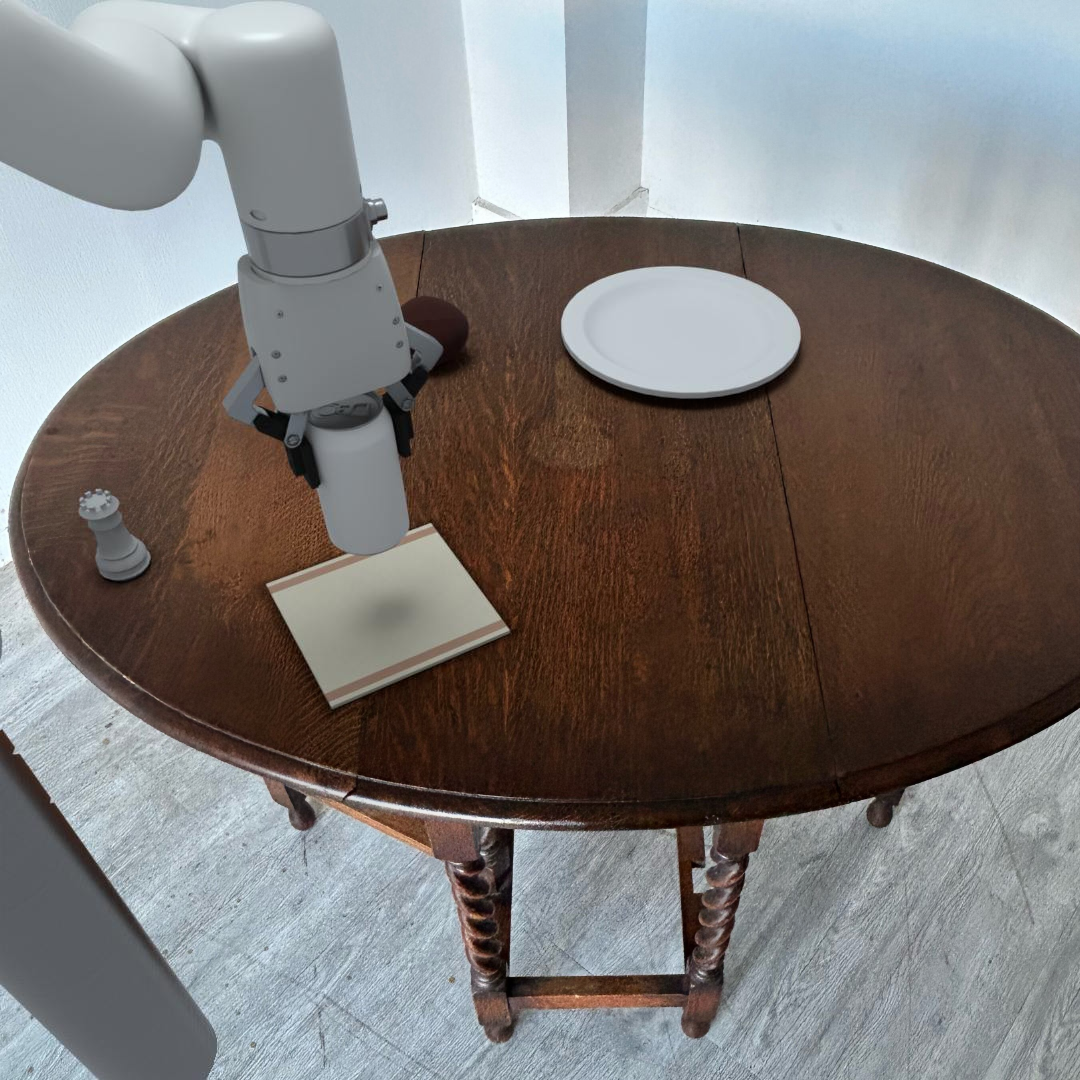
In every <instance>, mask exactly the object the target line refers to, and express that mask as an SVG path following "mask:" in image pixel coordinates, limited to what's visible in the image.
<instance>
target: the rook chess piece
mask: <svg viewBox="0 0 1080 1080" xmlns="http://www.w3.org/2000/svg"><path fill="white" fill-rule="evenodd" d="M84 496H85V497H84ZM84 496H80V498H79V500H78V503H79V508H78V510H77V511H78V515H79V516H80V517H82V519H85V520H86V521H87V527H88V528H89V529H90V530H92V531H93V533H94V536H95V540H96V542H97V547H96V553H95V556H94V559H95V563H96V567H97V568H98V572H99V574H100V575H101V576H102V577H103V578H105V579H108V580H111V581H115V582H126V581H128V580H133V579H135V578H137V577H138V576H140V575H142V574H144V573H143V572H145V570H146V569H148V567H149V564H150V561H151V558H152V557H151V554H150V552H149V551H148V550H147V547H146V544H144V542H143V541H141V540H140V539H139V538H137V537H136V536H135V535H134V534H131V533H130V532H129V529H127V527H126V526H125V524H124V523H123V515H122V513H121V512H120V511H119V510H118V509H119V506H120V501H119V498H117V497H116V496H114V495H112V494H111V492H110V491H109V490H108V489H106V490H103V489H102V488H95V493H93V494H92V492H91V491H90V490H88V491H87V492H85V493H84Z"/></svg>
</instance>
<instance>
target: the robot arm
mask: <svg viewBox="0 0 1080 1080" xmlns="http://www.w3.org/2000/svg"><path fill="white" fill-rule="evenodd" d="M343 73H344V72H343V66H342V59H341V54H340V49H339V45H338V41H337V37H336V34H335V32H334V29H333V28H332V25H331V24H330V23H329V21H328V20H327V19H326V18H325V16H324V15H322V14H321V13H320V12H318V11H317V10H315V9H314V8H312V7H309V6H306V5H304V4H303V5H302V4H299V3H295V2H290V1H281V0H261V1H260V0H259V1H248V2H242V3H237V4H233V5H229V6H226V7H223V8H215V7H200V6H192V5H191V6H190V5H183V4H182V5H181V4H173V3H168V2H167V3H166V2H159V1H151V0H104V1H101V2H97V3H94V4H92V5H90V6H88V7H87V8H85V9H83V10H82V11H80V12H79V13H78V14H77V15H76V16H75V17H74V18H73V19H72V21H71V22H70V24H69V25H68V28H66V27H64V26H62V25H60V24H58V23H57V22H55V21H53V20H52V19H50V18H48V17H47V16H45V15H43V14H41V13H40V12H38V11H37V10H35V9H33V7H31V6H29V5H28V4H26V3H24V2H22V1H21V0H0V162H1V163H2V164H5V165H7V166H8V167H11V168H12V169H14V170H17V171H19V172H20V173H22V174H24V175H27V176H28V177H31V178H33V179H35V180H36V181H39V182H41V183H43V184H45V185H47V186H49V187H51V188H53V189H55V190H58V191H60V192H62V193H64V194H67V195H68V196H71V197H74V198H76V199H79V200H81V201H84V202H86V203H89V204H94V205H97V206H101V207H103V208H107V209H111V210H119V211H125V212H126V211H128V212H141V211H142V212H143V211H150V210H154V209H158V208H162V207H163V206H165V205H167V204H169V203H171V202H173V201H174V200H176V199H177V198H179V197H180V195H181V194H183V193H184V192H185V191H186V190H187V189H188V187H189V186H190V184H191V182H192V181H193V180H194V178H195V176H196V173H197V172H198V168H199V165H200V161H201V155H202V149H203V143H204V142H203V141H212V142H214V143H216V144H217V145H218V147H219V148H220V151H221V154H222V159H223V163H224V165H225V170H226V173H227V177H228V182H229V185H230V188H231V192H232V196H233V201H234V204H235V208H236V211H237V216H238V219H239V223H240V228H241V232H242V235H243V239H244V242H245V247H246V250H247V253H245V254H243V255H242V256H240V257H239V259H238V260H237V262H236V263H237V267H236V269H237V272H236V273H237V286H238V296H239V303H240V304H239V305H240V311H241V318H242V322H243V327H244V333H245V339H246V343H247V349H248V354H249V357H250V361H249V363H248V364H247V366H246V367H245V368H244V370H243V371H242V372H241V374H240V375H239V377H238V379H237V380H236V381H235V382H234V384H233V385H232V387H231V388H230V389H229V391H228V393H227V394H226V396H225V397H224V398H223V399H222V407H223V408H224V410H225V412H226V414H227V415H228V417H229V418H231V419H233V420H235V421H237V422H239V423H242V424H244V425H246V426H248V427H252V428H254V429H255V430H256V431H257V432H259V433H261V434H263V435H265V436H267V437H271V438H272V439H275V440H278V441H280V442H282V443H283V447H284V450H285V453H286V457H287V461H288V465H289V468H290V470H291V471H292V473H293V475H294V476H295V478H298V477H303V478H304V480H305V481H306V483H307V484H308V487H310V489H311V490H312V491H313V490H315V489H316V488H319V485H321V482H320V478H319V474H318V470H317V466H316V462H315V458H314V454H313V450H312V447H311V444H310V442H309V441H308V439H307V438H306V436H305V435H304V430H305V426H306V422H307V418H308V414H309V410H312V409H315V408H318V407H322V406H325V405H328V404H331V403H335V402H338V401H341V400H344V399H348V398H351V397H354V396H357V395H361V394H364V393H367V392H370V391H373V390H374V391H377V390H379V389H383V388H384V390H385V393H382V394H381V398H382V400H383V405H384V407H385V408H386V409H387V410H388V412H389V413H390V416H391V419H392V423H393V428H394V433H395V439H396V445H397V450H398V455H399V457H400V458H404V459H406V458H407V459H408V458H410V457H412V456H413V455H412V448H411V442H410V440H412V439H414V438H415V432H414V426H413V419H412V412H411V410H413V409H414V408H415V406H416V400H415V398H416V397H417V396H418V394H419V393H420V391H422V388H423V387H424V386H425V384H426V383H427V382H428V379H429V376H430V374H429V373H430V371H432V370H433V369H434V367H435V366H436V365H435V364H436V363H437V361H438V360H439V358H440V356H441V355H442V353H443V346H442V345H441V344H440V343H439V342H438V341H437V340H436V339H435V338H434V337H432V336H430V335H428V334H426V333H425V332H423V331H421V330H419V329H417V328H415V327H413V326H412V325H410V324H408V323H406V322H404V319H403V315H402V311H401V304H400V301H399V296H398V294H397V290H396V287H395V283H394V280H393V276H392V274H391V271H390V268H389V265H388V262H387V259H386V256H385V254H384V251H383V250H382V246H381V244H380V242H379V241H378V240H377V238H376V237H375V236H374V234H373V230H374V226H375V225H378V223H379V222H382V221H385V220H388V218H389V217H388V216H389V214H388V209H387V205H386V203H385V200H384V199H383V198H382V197H379V198H374V199H372V198H370V197H368V198H365V197H364V195H363V189H362V182H361V176H360V170H359V166H358V159H357V151H356V147H355V140H354V134H353V129H352V128H353V127H352V122H351V116H350V115H351V114H350V109H349V104H348V98H347V92H346V86H345V85H346V84H345V80H344V79H345V78H344V74H343ZM409 347H410V348H412V349H414V350H415V353H414V354H413V358H412V359H411V355H410V348H409ZM265 388H266V390H267V392H268V395H269V397H270V398H271V400H272V403H273V405H274V411H272V410H271V409H269V408H266V407H264V406H261V405H256V404H255V401H256V400H257V399H258V397H259V396H260V395H261V393H262V391H263V390H264V389H265ZM316 490H317V489H316Z"/></svg>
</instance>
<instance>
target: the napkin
mask: <svg viewBox="0 0 1080 1080" xmlns="http://www.w3.org/2000/svg"><path fill="white" fill-rule="evenodd" d="M265 586H266V589H267V590H268V592H269V594H270V596H271V598H272V599H273V601H274V603H275V605H276V607H277V609H278V611H279V613H280V615H281V616H282V618H283V620H284V622H285V624H286V626H287V628H288V630H289V631H290V634H291V635H292V637H293V639H294V641H295V643H296V645H297V647H298V648H299V651H300V652H301V654H302V656H303V658H304V660H305V662H306V663H307V666H308V667H309V670H310V671H311V673H312V675H313V677H314V679H315V680H316V682H317V685H318V686H319V689H320V690H321V692H322V694H323V696H324V697H325V699H326V702H327V703H328V705H329V707H330V709H331V710H335V709H337V708H340V707H341V706H343V705H346V704H348V703H350V702H351V703H352V702H353V701H355V700H358V699H360V698H363V697H364V696H367V695H370V694H372V693H374V692H376V691H379V690H381V689H383V688H385V687H387V686H391V685H392V684H395V683H398V682H400V681H402V680H405V679H407V678H408V677H411V676H413V675H416V674H419V673H421V672H423V671H425V670H427V669H430V668H432V667H435V666H437V665H439V664H442V663H444V662H446V661H449V660H451V659H453V658H456V657H458V656H460V655H462V654H465V653H468V652H470V651H472V650H474V649H476V648H479V647H481V646H483V645H485V644H489V643H490V642H493V641H495V640H497V639H499V638H502V637H505V636H508V635H509V634H511V630H510V628H509V627H508V626H507V624H506V623H505V621H504V620H503V619H502V618H501V616H500V614H499V613H498V612H497V610H496V609H495V608H494V607H493V605H492V604H491V603H490V601H489V600H488V598H487V597H486V596H485V594H484V593H483V592H482V590H481V589H480V588H479V586H478V585H477V583H476V582H475V581H474V580H473V578H472V577H471V575H470V573H468V571H467V570H466V568H465V567H464V566H463V564H462V563H461V562H460V561H459V559H458V557H457V556H456V555H455V554H454V552H453V551H452V549H451V548H450V547H449V546H448V544H447V543H446V541H445V539H444V538H443V537H442V536H441V535H440V533H439V532H438V530H437V529H436V527H435V526H434V525H433V524H432V523H431V522H430V523H427V524H425V525H422V526H419V527H416V528H414V529H413V528H412V529H410V530H408V532H407V534H406V535H405V537H404V538H403V539H402V540H401V542H400V543H399V544H397V545H396V546H395V547H393V548H392V549H390V550H388V551H386V552H383V553H380V554H376V555H369V556H360V555H353V554H350V553H346V554H343V555H340V556H338V557H335V558H332V559H330V560H327V561H324V562H321V563H319V564H317V565H313V566H311V567H308V568H305V569H303V570H300V571H298V572H294V573H292V574H289V575H287V576H283V577H281V578H279V579H276V580H273V581H270V582H268V583H266V584H265Z"/></svg>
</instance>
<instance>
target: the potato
mask: <svg viewBox="0 0 1080 1080" xmlns="http://www.w3.org/2000/svg"><path fill="white" fill-rule="evenodd" d="M400 307H401V311H402V315H403V319H404V322H406V323H408V324H410V325H412V326H413V327H415V328H417V329H419V330H421V331H423V332H425V333H426V334H428V335H430V336H432V337H434V338H435V339H436V340H437V341H438V342H439V343H440V344H441V345H442V346H443V353H442V355H441V356H440V358H439V360H438V361H437V363H436V364H435V366H438V365H440V364H443V363H446V362H448V361H450V360H452V359H453V358H455V357H456V356H457V355H458V354H459V353H460V352H461V351H462V350H463V349H464V347H465V345H466V343H467V342H468V339H469V334H470V333H469V331H470V330H469V329H470V327H469V326H470V323H469V321H468V318H467V316H466V315H465V314H464V313H463V312H462V311H461V310H460V309H459V308H458V307H457V306H455V305H454V304H453V303H451V302H449V301H447V300H445V299H443V298H440V297H436V296H430V295H421V296H417V297H412V298H410V299H409V300H407V301H406V302H404V303H403V304H401V305H400ZM409 348H410V347H409ZM414 353H415V350H414V349H412V348H410V355H411V359H412V358H413V354H414Z"/></svg>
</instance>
